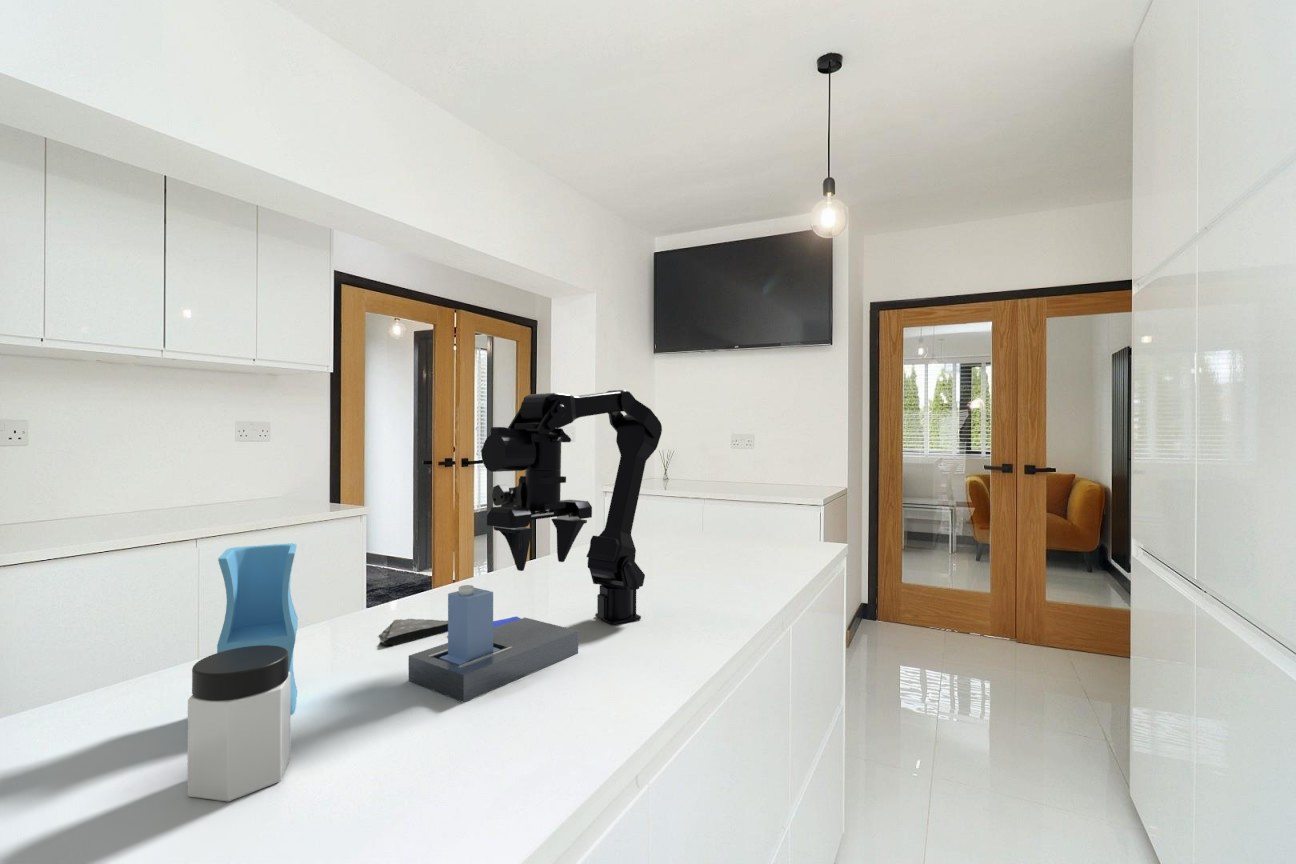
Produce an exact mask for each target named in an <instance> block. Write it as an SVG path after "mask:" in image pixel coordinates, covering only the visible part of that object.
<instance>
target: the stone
mask: <svg viewBox="0 0 1296 864" xmlns="http://www.w3.org/2000/svg"><path fill="white" fill-rule="evenodd" d="M443 633H448V620H439V619H424V618H422V619H421V618H419V619H417V618H416V619H415V618H407V619H402V618H401V619H394V620H393V621H392V623H390V624H389V625H388V627H386V628H385V629H384V630H383V631H382V632H381V633H380V634H378V637H380V638H381V639H382V640H381V641H380V642H379V646H388V645H389V646H390V645H391V646H399V645H403V644H407V643H410V642H414V641H418V640H421V639H424V638H428V637H433V636H437V635H440V634H443Z"/></svg>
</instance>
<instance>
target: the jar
mask: <svg viewBox="0 0 1296 864" xmlns="http://www.w3.org/2000/svg"><path fill="white" fill-rule="evenodd" d="M288 667H289V653H288V651H287V650H286V649H285V648H283V647H279V646H272V645H259V646H248V647H241V648H236V649H231V650H227V651H223V652H219V653H217V652H216V653H213V654H211V655H209V656H206V657H204V658H202V659H200V660H199V661H197V662H196V663H195V664H194V665H193V666H192V669H191V694H192V695H191V696H189V698H188V699H187V778H186V779H187V787H186V788H187V797H190V798H194V799H195V798H198V799H204V800H205V799H206V800H213V801H219V802H220V801H221V802H229V803H230V802H231V801H234V800H237V799H239V798H242V797H245V796H246V795H250V794H252V793H254V792H257V791H260V790H263V789H265V788H268V787H270V786H272V785H275V784H277V783H280V782H281V781H282V779H283V778H284V774H285V772H286V770H287V766H288V764H289V763H290V760H291V715H290V713H291V673H290V672H288Z"/></svg>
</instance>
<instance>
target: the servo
mask: <svg viewBox="0 0 1296 864" xmlns="http://www.w3.org/2000/svg"><path fill="white" fill-rule="evenodd" d="M447 621H448V632H447V643H448V655H445V656H442V657H439V660H442V661H445V662H448V663H451V664H454V665H457V666H459V665H462V664H465V663H467V662H470V661H473V660H475V659H478V658H481V657H483V656H486V655H489V654H492V653H494V652H497V651H500V650H501V649H498V648H495V647H493V621H494V591H491V590H486V589H482V588H477V587H474V585H472V584H471V585H470V584H465V585H464V584H463V585H460V586H458V591H453V592H449V593H447Z"/></svg>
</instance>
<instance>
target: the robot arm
mask: <svg viewBox="0 0 1296 864" xmlns="http://www.w3.org/2000/svg"><path fill="white" fill-rule="evenodd" d="M622 412H624V413H625V415H624V414H623V413H622ZM602 414H608V419H609V424H610V426H611V427H612V429H614V431H616V440H615V442H616V445H617V448H618V450H619V454H620V456H619V457H620V458H619V463H618V467H617V473H616V477H615V481H614V485H613V491H612V495H611V499H610V503H609V509H608V514H607V516H606V518H607V519H606V522H605V528H604V529H603V530H602V532H601V533H600V534H599V535H592V536H591V539H590V541H589V548H588V552H587V554H586V558H588V559H587V568H588V569H589V572H590V576H591V580H592V584H594V585H599V593H598V594H597V598H596V599H597V604H596V605H597V612H596V613H595V614H594V616H595V617H597V618H598V619H599V620H602V621H603V622H605V623H607V624H610V625H617V624H623V623H628V622H633V621H638V620H641V618H642V616H641V615H639V614H637V590H639V589H640V588H641V587H643V586H644V582H645V578H646V577H645V576H646V575H645V573H644V572H643V571H642V569H641V567H640V566H639V565H638V563H636V554H637V553H636V552H637V551H636V546H635V543H634V540H633V537H632V530H633V525H634V521H635V516H636V515H635V514H636V510H637V507H638V506H637V505H638V501H639V498H640V490H641V486H642V483H643V478H644V477H643V476H644V472H645V467H646V463H647V460H648V459H649V458H650V457H651V456H652V455H653V454H654V452H655V451H656V449H658V445H659V442H660V439H661V435H662V432H663V426H662V423H661V420H659V419H658V417H657V416H656V415H655V413H654V412H653V411H652V409H651V408H649V407H648V406H646V405H645V404H643V403H642V402H641V401H639V400H638V399H636V398H635V397H634V395H633V394H632V393H631V392H630V391H628V390H626V389H618V390H616V389H615V390H614V389H613V390H608V391H605V392H598V393H590V394H589V393H588V394H584V395H583V394H581V395H572V394H567V393H561V392H560V393H559V392H552V393H551V392H549V393H548V392H547V393H533V394H531V393H530V394H528V395H526V396H524V398H523V400H522V402H521V405H520V408H519V410H518V411H517V413H516V414H515V416H514V417H513V419H512V420H511V422H510V424H509V425H508V427H506V426H492V427H491V428H490V434H489V436H487V437H486V439H485V440H484V443H483V446H482V448H481V450H480V451H481V461H482V463H483V466H484V467H485V469H487V470H488V471H489V472H492V473H493V472H522V471H524V474H525V475H519V478H518V485H517V486H514V487H513V486H512V487H509V485H508V484H507V483H506V484H497V485H495V486H493V487H492V495H491V497H492V503H493V505H494V506H493V507H490V509H489V510H488V511H487V514H486V526H490V527H492V528H493V530H494V531H497V532H499V533H501V535H503V537H504V538H505V539H506V542H507V544H508V547H509V550H510V553H511V555H512V559H513V561H514V564H515V567H516V570H517V571H519V572H523V571H525V567H526V565H527V558H528V554H529V549H530V548H529V547H530V544H531V543H530V542H531V538H532V537H531V536H532V531H533V528H532V527H528V526H529V525H530V523H532V521H534V520H541V519H549V518H551V521H552V523H553V526H554V527H555V529H556V554H557V556H556V557H557V561H558V562H559V563H564V562H565V560H566V559H567V556H568V554H570V553H569V552H570V550H571V549H572V547H573V544H574V542H575V540H576V539H577V536H578V534H579V533H580V532H581V530H582V528H583V526H584V525H585V524H587V523H588V520H587V519H590V518H592V517H593V516H592V515H593V506H592V505H591V503H590V501H588V500H580V499H579V500H577V499H561V485H562V484H565V483H567V476H563V475H562V474H561V473H562V443H571V442H572V439H571V437H570V436H569V435H568V434H567V433H566V432H565V431H564V429H563V427H565V426H568V425H570V424H572V423H574V421H575V420H577V419H580V418H583V417H589V416H595V415H596V416H598V415H602Z"/></svg>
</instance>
